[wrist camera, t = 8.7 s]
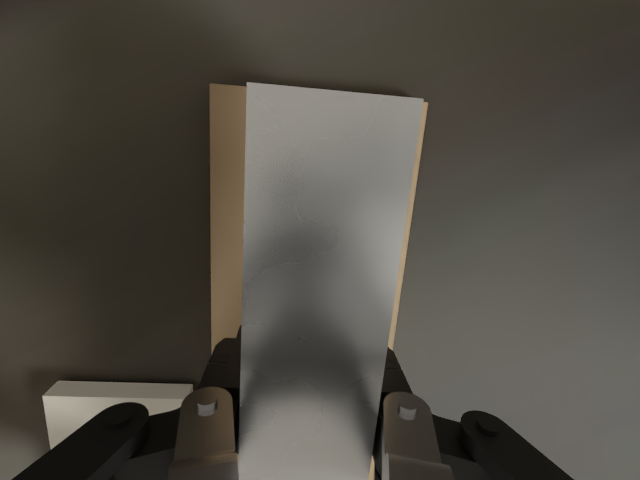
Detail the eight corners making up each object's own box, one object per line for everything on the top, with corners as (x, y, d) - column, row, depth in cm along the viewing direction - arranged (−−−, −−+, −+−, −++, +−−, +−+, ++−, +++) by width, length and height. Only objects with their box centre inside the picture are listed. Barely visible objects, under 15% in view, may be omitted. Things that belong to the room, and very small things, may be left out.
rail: (382, 113, 10) (423, 99, 7) (332, 538, 15) (343, 654, 11) (263, 102, 10) (246, 82, 7) (249, 538, 14) (234, 658, 11)
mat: (422, 104, 14) (428, 102, 13) (368, 485, 18) (371, 496, 18) (213, 86, 13) (209, 83, 12) (215, 485, 18) (212, 496, 17)
